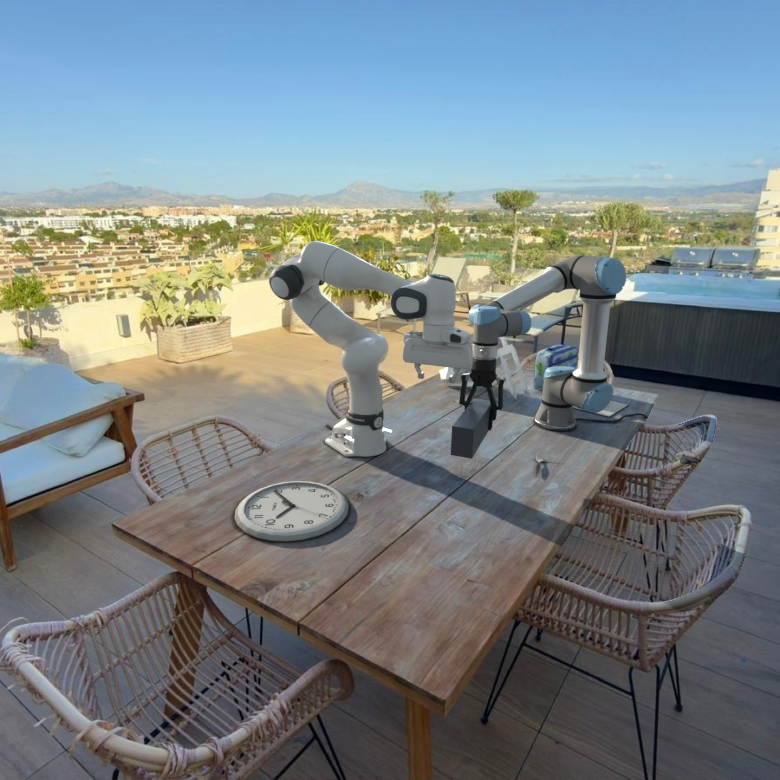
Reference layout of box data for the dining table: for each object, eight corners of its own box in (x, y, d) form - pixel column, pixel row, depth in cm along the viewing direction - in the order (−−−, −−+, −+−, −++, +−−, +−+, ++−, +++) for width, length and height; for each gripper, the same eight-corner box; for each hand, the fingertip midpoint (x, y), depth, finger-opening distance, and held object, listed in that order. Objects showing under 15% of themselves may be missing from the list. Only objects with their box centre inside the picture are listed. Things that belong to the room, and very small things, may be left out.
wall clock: (349, 533, 127) (222, 537, 124) (349, 539, 127) (223, 543, 125) (348, 477, 155) (245, 479, 153) (348, 481, 156) (245, 484, 153)
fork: (531, 475, 162) (532, 469, 161) (536, 455, 176) (537, 450, 175) (540, 476, 161) (541, 471, 160) (544, 456, 175) (545, 451, 175)
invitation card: (608, 416, 214) (573, 407, 224) (608, 416, 214) (573, 408, 224) (628, 404, 229) (594, 396, 238) (628, 405, 229) (594, 397, 238)
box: (472, 423, 172) (474, 398, 169) (491, 426, 170) (493, 400, 167) (450, 455, 148) (452, 426, 146) (472, 458, 146) (473, 429, 143)
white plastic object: (461, 429, 252) (437, 405, 227) (444, 352, 274) (420, 323, 250) (535, 404, 240) (518, 377, 215) (510, 326, 262) (492, 293, 237)
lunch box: (550, 397, 237) (555, 352, 231) (529, 391, 245) (533, 348, 238) (577, 386, 255) (582, 344, 249) (556, 381, 262) (561, 340, 256)
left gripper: (400, 332, 148) (399, 378, 153) (470, 338, 141) (467, 387, 145) (407, 328, 154) (406, 373, 158) (476, 334, 147) (472, 381, 151)
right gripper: (450, 356, 161) (447, 426, 168) (513, 363, 154) (507, 436, 161) (457, 351, 167) (453, 419, 174) (517, 358, 161) (511, 427, 168)
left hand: (436, 380), depth 152 cm, fingers open, 8 cm apart
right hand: (479, 427), depth 168 cm, fingers closed on box, 6 cm apart
